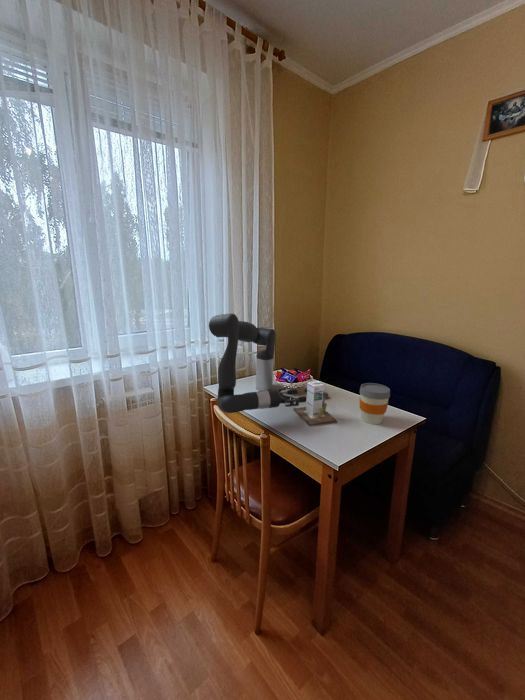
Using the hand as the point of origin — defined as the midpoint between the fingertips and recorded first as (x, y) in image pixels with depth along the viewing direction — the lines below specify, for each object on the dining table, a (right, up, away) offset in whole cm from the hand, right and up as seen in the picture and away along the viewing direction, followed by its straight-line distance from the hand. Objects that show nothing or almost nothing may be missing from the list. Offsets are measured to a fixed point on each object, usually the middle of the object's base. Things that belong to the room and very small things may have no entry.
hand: (301, 395), depth 137 cm
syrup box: (+6, -9, +5) cm, 12 cm away
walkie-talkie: (+12, -6, +26) cm, 30 cm away
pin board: (+6, -10, +5) cm, 13 cm away
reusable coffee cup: (+31, -12, +4) cm, 34 cm away
